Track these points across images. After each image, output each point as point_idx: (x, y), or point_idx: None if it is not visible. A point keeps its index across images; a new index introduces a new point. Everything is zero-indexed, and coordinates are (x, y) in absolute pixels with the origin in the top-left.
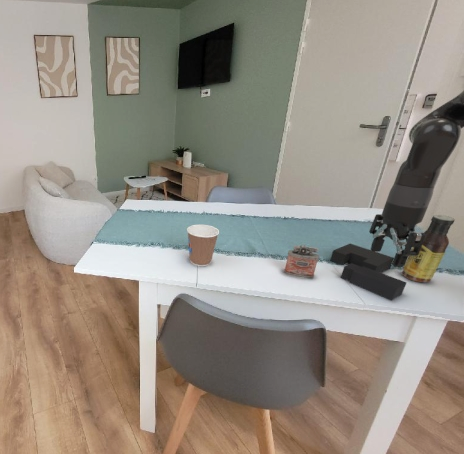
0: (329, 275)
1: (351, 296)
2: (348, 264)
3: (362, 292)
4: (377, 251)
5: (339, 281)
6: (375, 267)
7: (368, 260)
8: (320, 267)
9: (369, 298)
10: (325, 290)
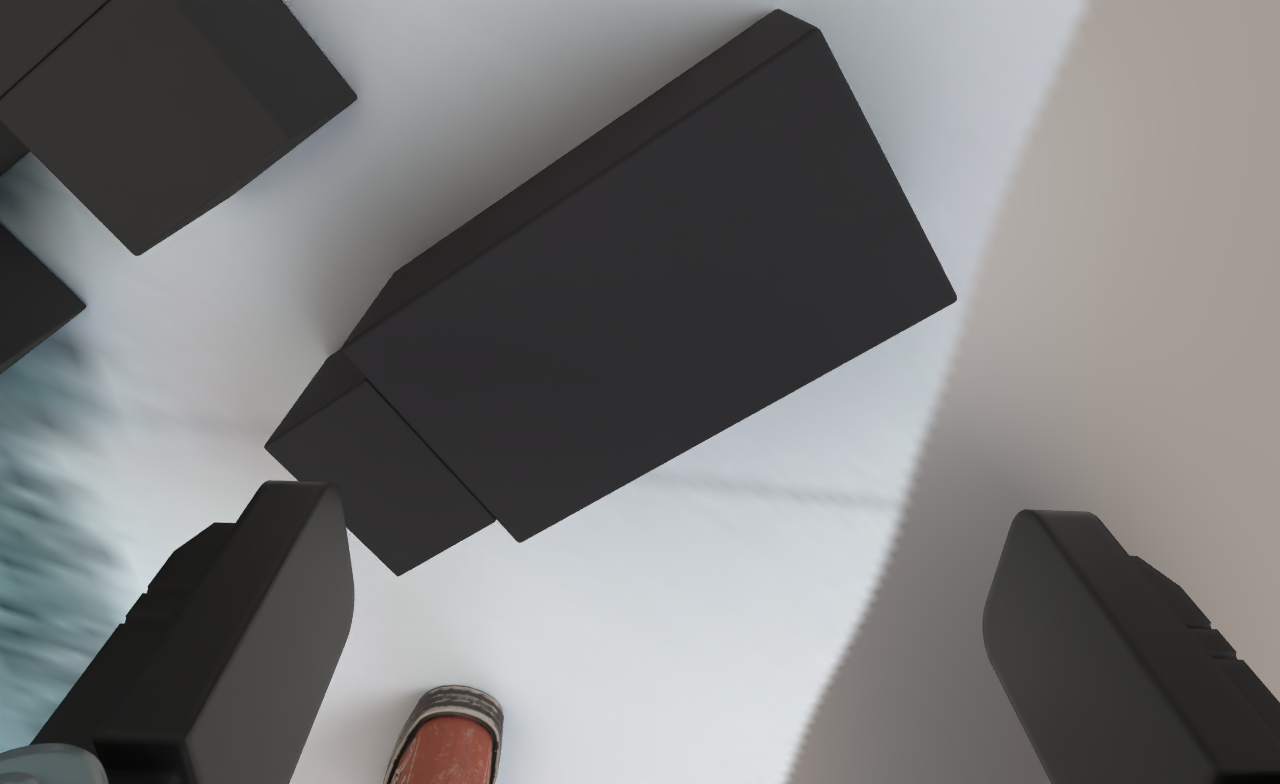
0: None
1: (798, 550)
2: None
3: None
4: (342, 516)
5: None
6: (289, 139)
7: (80, 148)
8: None
9: (839, 421)
10: (699, 689)
